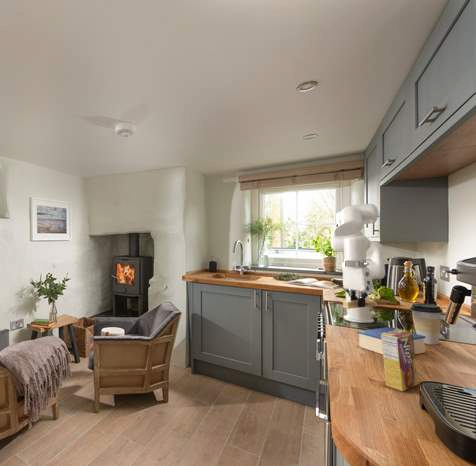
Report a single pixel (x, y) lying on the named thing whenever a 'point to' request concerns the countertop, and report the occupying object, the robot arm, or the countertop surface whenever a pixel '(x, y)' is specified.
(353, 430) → the countertop surface
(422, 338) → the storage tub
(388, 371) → the candy box
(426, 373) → the countertop surface
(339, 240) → the robot arm
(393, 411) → the countertop surface
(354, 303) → the wooden block
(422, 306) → the coffee cup
